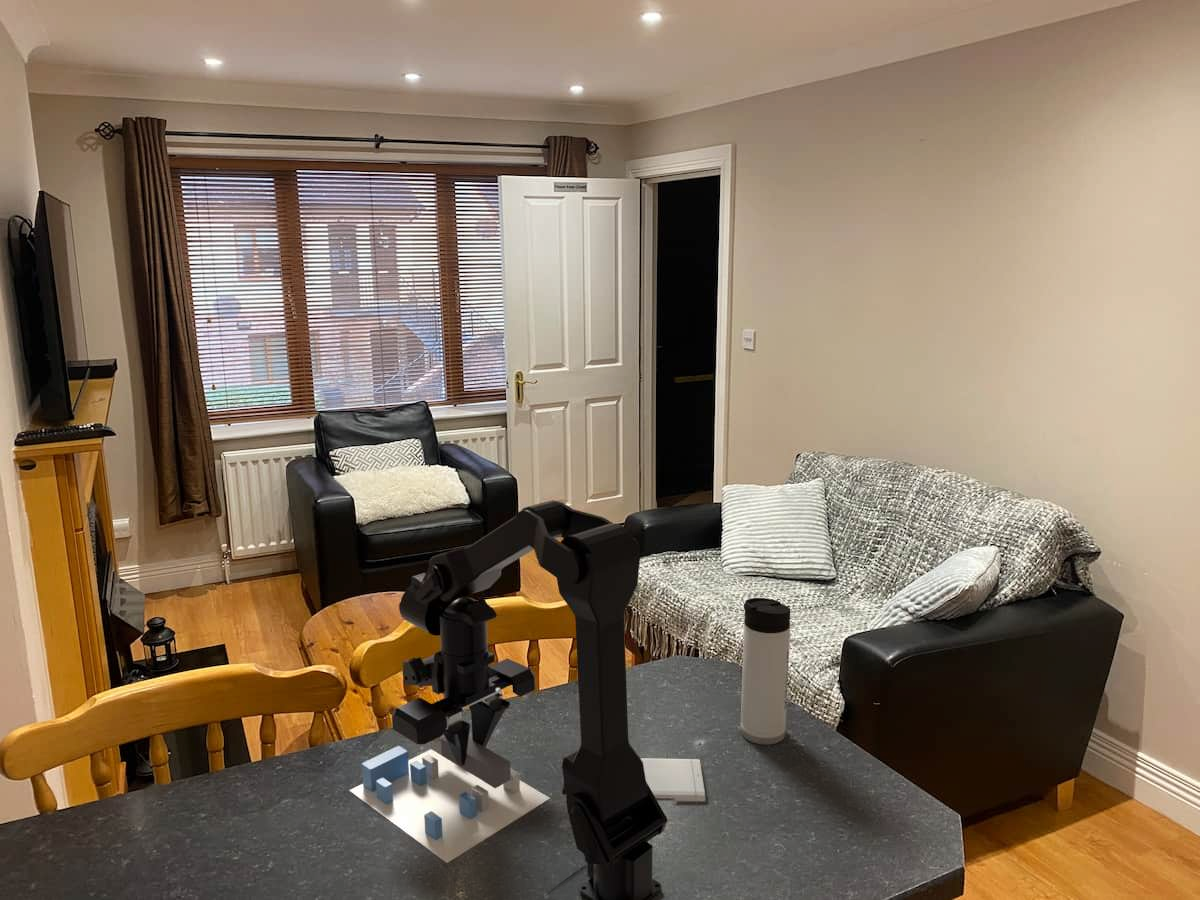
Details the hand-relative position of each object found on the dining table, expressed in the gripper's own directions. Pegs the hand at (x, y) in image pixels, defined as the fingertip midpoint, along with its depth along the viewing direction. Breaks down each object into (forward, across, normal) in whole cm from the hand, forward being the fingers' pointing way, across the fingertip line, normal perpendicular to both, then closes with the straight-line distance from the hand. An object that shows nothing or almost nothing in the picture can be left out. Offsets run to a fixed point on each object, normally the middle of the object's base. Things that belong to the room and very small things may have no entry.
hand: (469, 759), depth 112 cm
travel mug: (+4, -36, +21) cm, 41 cm away
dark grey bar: (+1, 0, 0) cm, 1 cm away
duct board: (+4, +4, 0) cm, 5 cm away
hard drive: (+4, -16, +17) cm, 24 cm away
